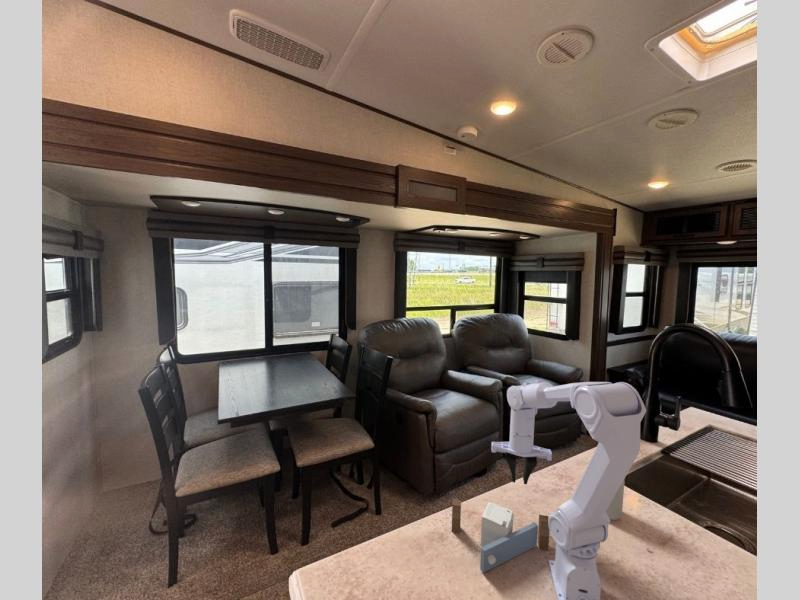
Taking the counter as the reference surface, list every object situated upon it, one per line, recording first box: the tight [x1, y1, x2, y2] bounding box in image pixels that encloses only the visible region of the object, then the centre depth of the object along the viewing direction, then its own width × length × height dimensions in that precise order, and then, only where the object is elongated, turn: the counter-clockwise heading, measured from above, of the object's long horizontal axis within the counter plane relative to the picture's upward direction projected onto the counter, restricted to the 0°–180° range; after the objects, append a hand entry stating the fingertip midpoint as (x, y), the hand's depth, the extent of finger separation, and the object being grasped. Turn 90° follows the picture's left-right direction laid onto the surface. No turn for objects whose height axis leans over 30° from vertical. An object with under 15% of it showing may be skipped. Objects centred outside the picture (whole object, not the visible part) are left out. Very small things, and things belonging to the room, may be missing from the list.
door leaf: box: [479, 522, 539, 574], centre depth 71 cm, size 2×16×5 cm, turn 117°
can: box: [606, 479, 626, 521], centre depth 86 cm, size 8×8×12 cm
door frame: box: [451, 498, 551, 552], centre depth 77 cm, size 2×22×7 cm, turn 76°
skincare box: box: [480, 501, 514, 547], centre depth 76 cm, size 6×6×7 cm
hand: (519, 480), depth 84 cm, fingers open, 2 cm apart
